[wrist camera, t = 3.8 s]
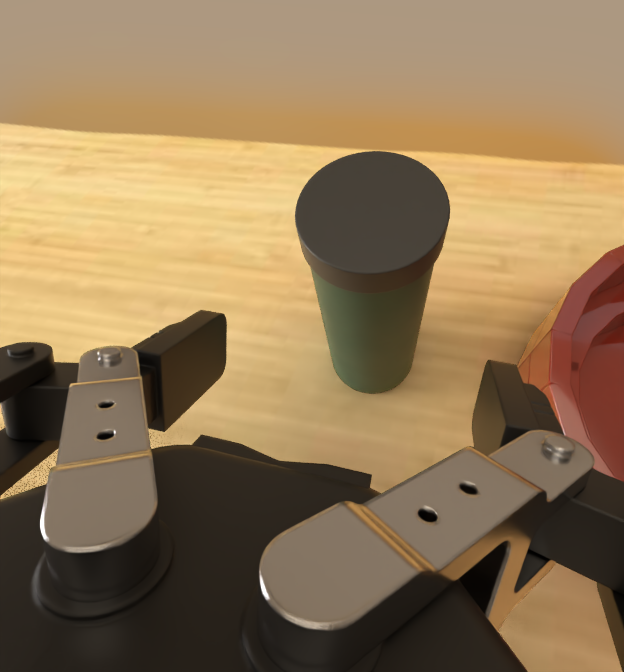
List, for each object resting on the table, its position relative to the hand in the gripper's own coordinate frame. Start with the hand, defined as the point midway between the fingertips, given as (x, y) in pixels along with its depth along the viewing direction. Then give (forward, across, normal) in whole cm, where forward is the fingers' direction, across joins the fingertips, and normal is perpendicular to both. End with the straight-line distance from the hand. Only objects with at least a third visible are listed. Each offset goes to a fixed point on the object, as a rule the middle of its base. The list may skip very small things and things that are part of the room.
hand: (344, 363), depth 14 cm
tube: (+10, 0, +4) cm, 11 cm away
